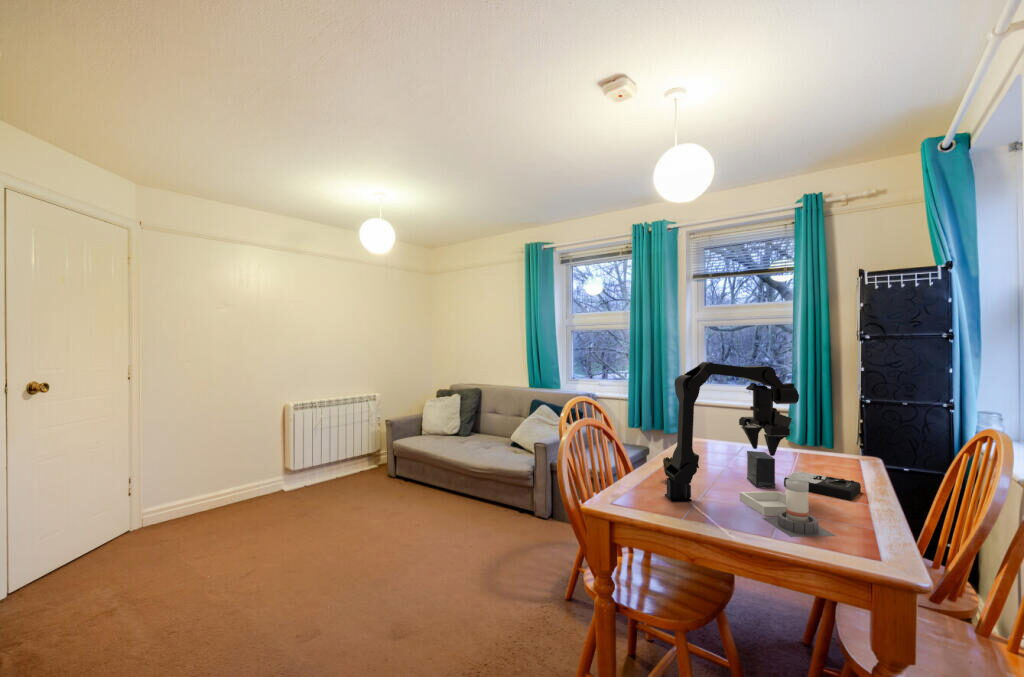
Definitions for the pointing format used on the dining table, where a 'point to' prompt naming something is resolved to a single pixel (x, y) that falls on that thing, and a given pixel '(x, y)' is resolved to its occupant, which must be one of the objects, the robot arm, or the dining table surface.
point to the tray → (765, 502)
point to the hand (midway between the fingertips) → (763, 452)
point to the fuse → (797, 500)
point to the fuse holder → (798, 526)
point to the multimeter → (828, 485)
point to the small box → (761, 469)
